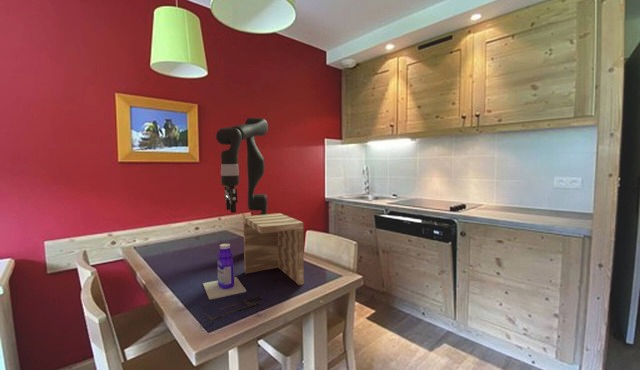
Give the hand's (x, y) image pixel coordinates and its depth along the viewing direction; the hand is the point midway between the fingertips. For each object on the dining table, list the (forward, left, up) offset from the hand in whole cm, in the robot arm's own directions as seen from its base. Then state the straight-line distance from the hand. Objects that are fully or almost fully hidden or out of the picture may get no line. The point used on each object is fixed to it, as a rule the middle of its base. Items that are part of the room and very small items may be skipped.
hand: (231, 211), depth 130 cm
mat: (+10, -6, -30) cm, 32 cm away
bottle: (+10, -5, -30) cm, 32 cm away
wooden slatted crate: (+10, +15, -30) cm, 35 cm away
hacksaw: (+31, -7, -31) cm, 44 cm away
